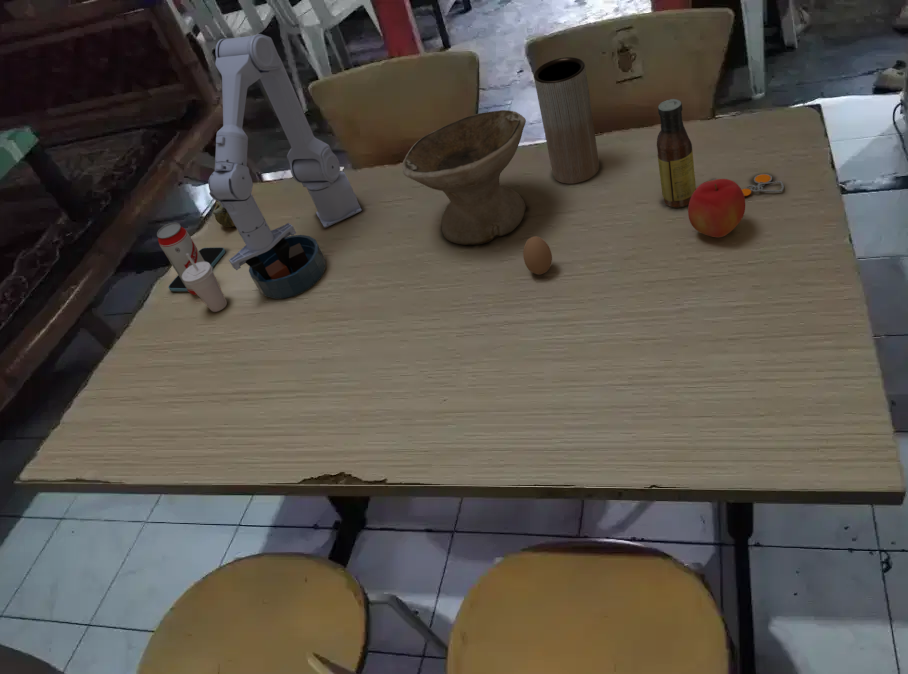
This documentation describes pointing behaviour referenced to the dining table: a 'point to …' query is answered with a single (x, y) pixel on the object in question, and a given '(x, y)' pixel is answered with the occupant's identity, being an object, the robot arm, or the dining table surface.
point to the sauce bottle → (675, 156)
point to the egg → (537, 255)
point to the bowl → (471, 174)
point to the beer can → (178, 248)
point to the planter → (567, 119)
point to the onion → (222, 216)
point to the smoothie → (204, 284)
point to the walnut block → (297, 257)
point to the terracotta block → (277, 270)
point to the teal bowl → (295, 280)
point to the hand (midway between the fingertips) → (279, 277)
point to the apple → (716, 207)
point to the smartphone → (208, 255)
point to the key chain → (761, 180)
